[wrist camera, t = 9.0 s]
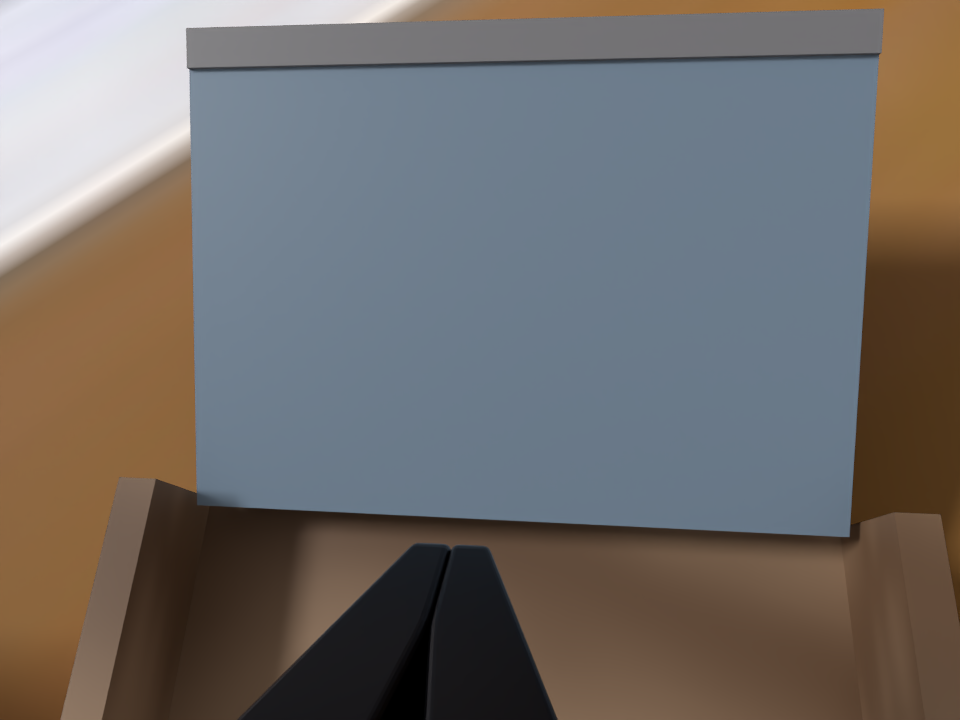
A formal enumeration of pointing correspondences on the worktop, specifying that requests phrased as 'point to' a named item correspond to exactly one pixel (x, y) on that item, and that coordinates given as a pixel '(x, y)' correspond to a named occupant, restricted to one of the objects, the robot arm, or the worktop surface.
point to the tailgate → (535, 267)
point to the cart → (529, 611)
